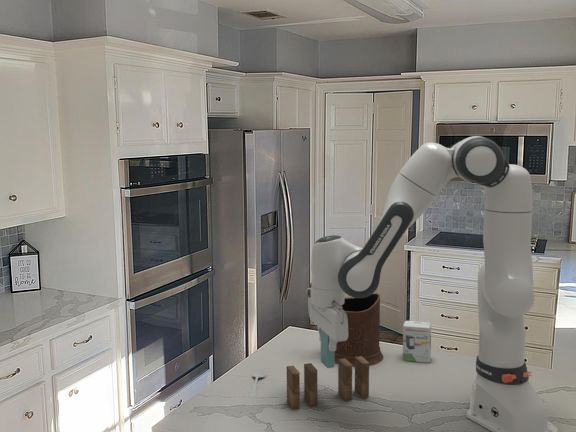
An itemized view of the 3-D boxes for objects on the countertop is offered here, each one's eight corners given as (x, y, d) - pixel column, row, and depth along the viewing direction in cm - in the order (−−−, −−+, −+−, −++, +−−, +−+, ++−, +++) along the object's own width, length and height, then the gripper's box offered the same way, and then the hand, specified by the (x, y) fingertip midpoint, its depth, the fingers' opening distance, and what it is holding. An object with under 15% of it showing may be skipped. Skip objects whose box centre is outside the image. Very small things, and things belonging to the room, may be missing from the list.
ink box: (430, 357, 186) (431, 322, 184) (429, 363, 181) (430, 327, 180) (403, 354, 189) (404, 320, 187) (402, 360, 184) (402, 325, 182)
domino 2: (311, 397, 159) (311, 363, 158) (317, 405, 154) (317, 370, 153) (304, 398, 158) (304, 363, 157) (310, 406, 154) (310, 371, 152)
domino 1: (293, 400, 158) (293, 365, 156) (299, 408, 153) (299, 372, 151) (286, 401, 157) (286, 366, 156) (292, 409, 152) (292, 373, 151)
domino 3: (327, 360, 159) (327, 325, 158) (334, 367, 154) (334, 331, 153) (320, 361, 159) (320, 326, 157) (327, 368, 154) (327, 332, 152)
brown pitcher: (387, 367, 179) (388, 288, 175) (309, 367, 180) (309, 289, 176) (379, 345, 197) (380, 273, 194) (308, 345, 198) (308, 274, 194)
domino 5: (361, 389, 164) (361, 356, 162) (368, 397, 159) (369, 362, 157) (354, 390, 163) (354, 357, 162) (362, 398, 158) (362, 363, 157)
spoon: (267, 372, 177) (267, 367, 177) (256, 404, 157) (256, 398, 156) (254, 372, 177) (254, 367, 177) (241, 403, 157) (241, 397, 157)
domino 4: (344, 392, 162) (344, 358, 161) (352, 400, 157) (352, 365, 156) (338, 393, 161) (338, 359, 160) (345, 401, 157) (345, 366, 155)
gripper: (354, 306, 145) (354, 359, 147) (325, 285, 164) (325, 332, 166) (331, 308, 143) (331, 362, 145) (304, 287, 162) (304, 334, 164)
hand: (327, 346), depth 156 cm, fingers closed on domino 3, 5 cm apart
